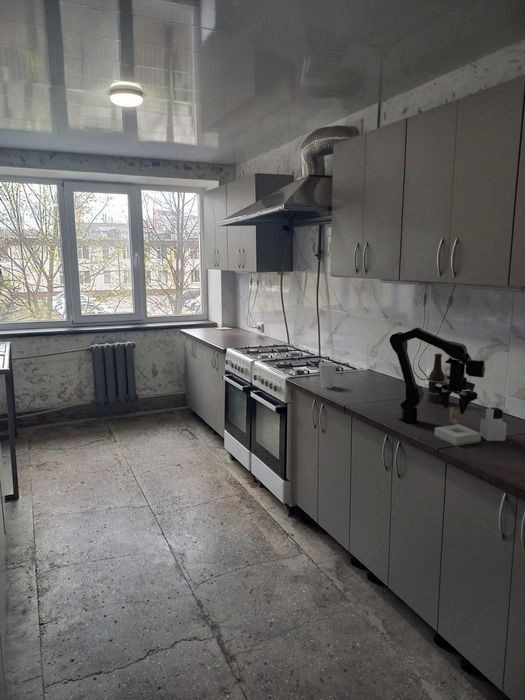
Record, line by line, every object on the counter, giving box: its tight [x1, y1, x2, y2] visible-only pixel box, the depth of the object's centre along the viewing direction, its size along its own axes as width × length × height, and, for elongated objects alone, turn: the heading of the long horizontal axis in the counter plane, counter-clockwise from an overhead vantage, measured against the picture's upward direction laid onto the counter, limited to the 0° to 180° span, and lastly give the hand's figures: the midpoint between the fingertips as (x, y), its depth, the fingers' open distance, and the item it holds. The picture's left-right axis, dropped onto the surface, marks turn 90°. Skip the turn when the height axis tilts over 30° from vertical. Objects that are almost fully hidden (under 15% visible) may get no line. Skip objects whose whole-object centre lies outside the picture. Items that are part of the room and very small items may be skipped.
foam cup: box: [318, 361, 337, 389], centre depth 283 cm, size 10×9×13 cm
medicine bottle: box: [479, 407, 508, 442], centre depth 201 cm, size 7×7×12 cm
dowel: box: [448, 406, 460, 426], centre depth 213 cm, size 3×3×9 cm
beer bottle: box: [427, 353, 445, 404], centre depth 253 cm, size 8×8×24 cm
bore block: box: [434, 423, 482, 447], centre depth 200 cm, size 12×12×4 cm
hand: (454, 411), depth 212 cm, fingers open, 9 cm apart
